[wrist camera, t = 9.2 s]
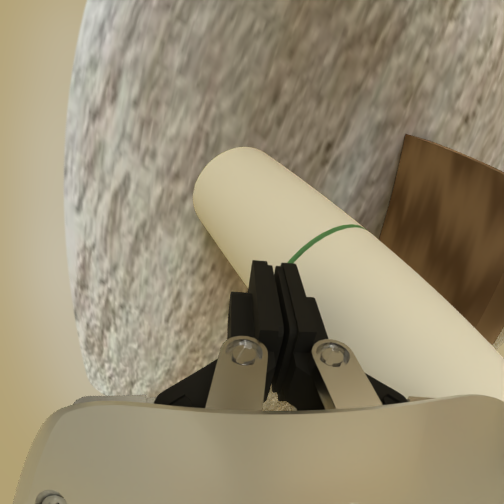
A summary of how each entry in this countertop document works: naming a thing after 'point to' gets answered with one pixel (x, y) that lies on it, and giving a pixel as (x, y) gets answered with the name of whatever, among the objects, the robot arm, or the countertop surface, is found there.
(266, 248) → the cylindrical container
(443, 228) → the U-rest
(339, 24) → the countertop surface
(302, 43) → the countertop surface
